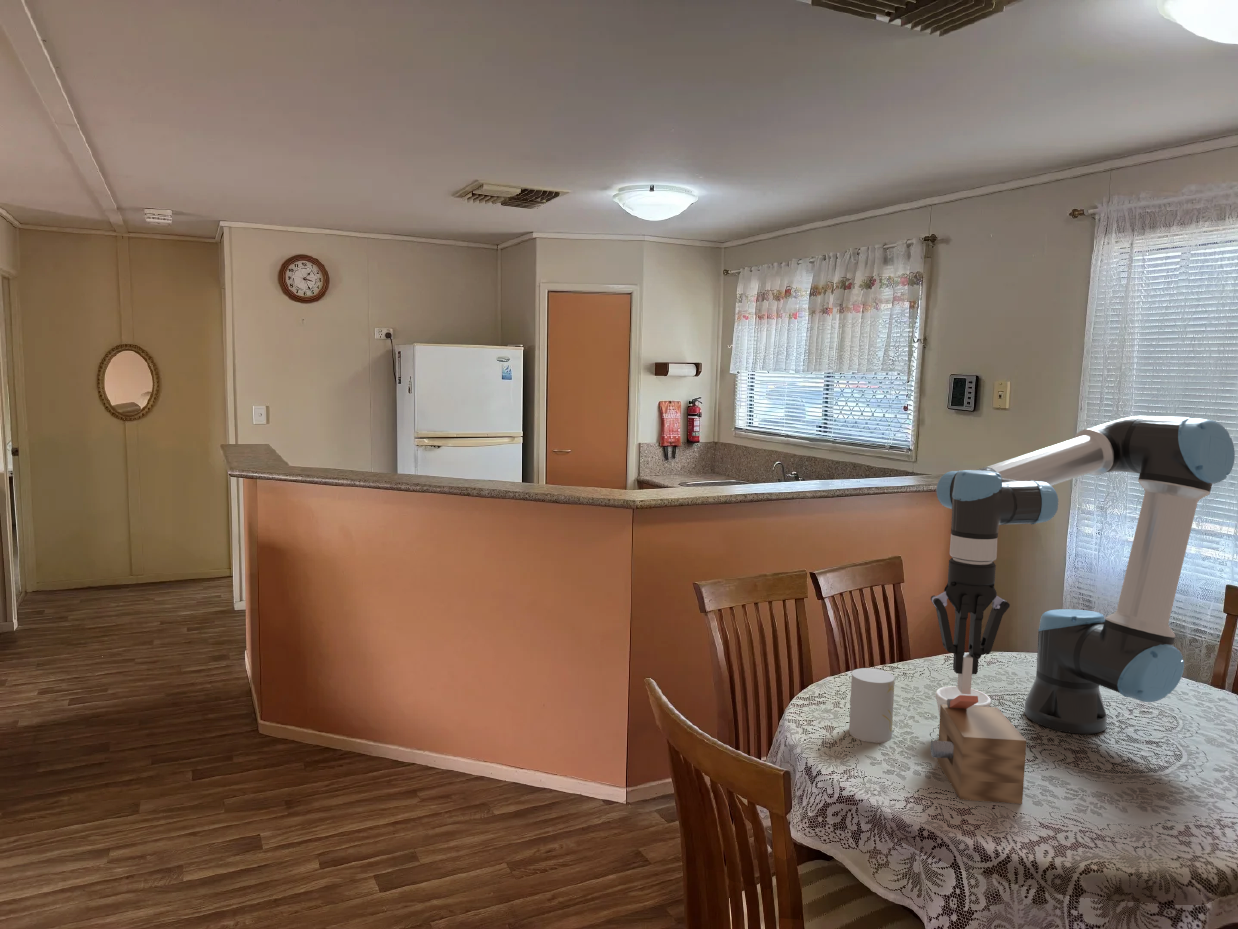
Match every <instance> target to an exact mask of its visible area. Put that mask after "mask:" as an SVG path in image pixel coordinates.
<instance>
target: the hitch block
mask: <svg viewBox="0 0 1238 929" xmlns="http://www.w3.org/2000/svg"><path fill="white" fill-rule="evenodd" d="M938 741H947V742H953V744H954V750H953V759H951V758H936V759H937V762H936V763H937V764H938V765H939V767H940V768H941V770H942V772H943V774H944V776H945V777H946V779H947V781H948V782H949V784H950V786H951V787H952V789H953V790H954V792H955V794H956V796H957V798H958V799H959V800H960V801H970V802H971V801H975V802H989V803H1006V804H1018V805H1019V804H1020V805H1022V804H1023V798H1024V797H1023V795H1024V781H1025V768H1026V756H1027V755H1026V754H1027V752H1026V751H1027V739H1026V738H1025V737H1024V736H1023V735H1022V734H1021V732H1020V731H1019V730H1018V729H1017V728H1016V727H1015V726H1014V725H1013V723H1012V722H1011V721H1010V720H1009V719H1008V718H1007V717H1006V715H1005V714H1004V713H1003V712H1002V711H1001V710H1000V708H999V707H994V706H990V707H979V706H971V707H969V708H967V709H960V708H948V706H947V705H942V704H941V707H940V716H939V728H938Z"/></svg>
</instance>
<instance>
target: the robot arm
mask: <svg viewBox="0 0 1238 929" xmlns="http://www.w3.org/2000/svg"><path fill="white" fill-rule="evenodd" d="M1235 452H1236V451H1235V445H1234V441H1233V438H1232V437H1231V436H1230V433H1229V432H1228V429H1226V427H1225V426H1224V425H1223V424H1221V423H1219V422H1217V421H1215V420H1212V419H1205V418H1198V417H1193V416H1188V417H1186V416H1159V415H1156V416H1155V415H1148V414H1147V415H1143V414H1141V415H1132V416H1126V417H1122V418H1118V419H1114V420H1111V421H1106V422H1103V423H1101V424H1097V425H1094V426H1091V427H1088V428H1085V429H1081V430H1080V431H1078V432H1077V433H1076V434H1075V435H1074V437H1072V438H1071V439H1067V440H1063V441H1061V442H1058V443H1055V444H1051V445H1049V446H1046V447H1043V448H1039V449H1037V450H1034V451H1031V452H1027V453H1024V454H1021V455H1019V456H1015V457H1012V458H1009V459H1006V460H1003V461H1000V462H997V463H994V464H991V465H988V466H985V467H984V466H983V467H982V468H978V469H965V470H950V471H947V472H946V473H944V474H943V475H941V476H940V478H939V480H938V482H937V484H936V488H935V489H936V497H937V500H938V501H939V503H940V504H941V505H942V506H943V507H945V508H947V509H950V510H951V522H950V523H951V527H950V539H949V540H950V541H949V542H950V543H949V544H950V545H949V555H950V556H951V558H950V559H949V560H948V569H947V570H948V572H947V583H946V585H945V587H944V590H943V592H941V593H940V594H938V595H931V596H930V601H931V603H932V604H933V606H934V608H935V610H936V615H937V621H938V627H939V632H940V638H941V643H942V646H943V648H944V649H945V651H946V652H948V653H950V654H953V665H952V669H953V672H954V673H956V674H957V688H958V690H959V691H960V692H961V693H962V694H971V689H972V681H973V680H972V678H973V675H977V674H978V672H979V660H980V659H981V658H982V655H989V654H991V652H992V649H993V647H994V643H995V640H996V637H997V635H998V634H997V633H998V632H999V629H1000V625H1001V622H1002V618H1003V616H1004V615H1005V613H1006V612H1007V611H1008V609H1009V608H1010V606H1011V604H1010V603H1009V602H1008V601H1007V600H1005V599H1004V598H1002V597H1000V596H998V594H997V590H996V588H995V582H996V581H995V580H996V569H997V568H996V567H997V565H996V563H995V562H994V561H996V560H997V557H998V556H997V555H998V537H999V530H1000V529H999V528H1000V526H1004V525H1005V526H1006V525H1027V524H1029V525H1036V524H1040V523H1046V522H1048V521H1051V520H1052V519H1053V518H1054V517H1055V516H1056V514H1057V512H1058V509H1059V497H1058V493H1057V491H1056V489H1055V488H1054V487H1053V486H1056V485H1058V484H1060V483H1064V482H1067V481H1069V480H1073V479H1077V478H1078V477H1081V476H1084V475H1088V474H1089V475H1093V476H1099V475H1103V474H1104V475H1105V474H1106V473H1111V472H1113V473H1114V472H1122V473H1133V474H1139V476H1138V480H1137V481H1138V483H1139V484H1140V486H1141V487H1142V488H1143V490H1144V494H1143V500H1142V503H1141V507H1140V511H1139V515H1138V520H1137V524H1136V529H1135V532H1134V536H1133V540H1132V545H1131V549H1130V553H1129V556H1128V562H1127V566H1126V569H1125V573H1124V574H1125V575H1124V578H1123V583H1122V586H1121V590H1120V595H1119V599H1118V604H1117V608H1116V611H1115V612H1113V613H1112V614H1108V615H1107V616H1106V617H1105V615H1104V614H1102V613H1101V612H1098V611H1093V610H1086V609H1075V608H1074V609H1071V608H1069V609H1068V608H1067V609H1066V608H1063V609H1062V608H1061V609H1059V608H1058V609H1050V610H1047V611H1045V612H1043V613H1042V615H1041V616H1040V621H1039V628H1038V629H1037V630H1038V636H1037V637H1038V638H1037V653H1036V654H1037V657H1036V673H1035V680H1034V682H1033V684H1032V686H1031V687H1030V690H1029V692H1028V695H1027V697H1026V699H1025V702H1024V710H1023V711H1024V715H1025V716H1026V717H1027V718H1028V719H1030V720H1031V721H1033V722H1034V723H1036V724H1038V725H1040V726H1043V727H1046V728H1048V729H1051V730H1056V731H1059V732H1060V731H1061V732H1065V733H1071V734H1080V735H1081V734H1082V735H1084V734H1085V735H1087V734H1098V733H1101V732H1103V731H1105V730H1106V728H1107V722H1108V721H1107V720H1108V717H1107V712H1106V708H1105V705H1104V701H1103V698H1102V694H1101V691H1100V686H1101V687H1103V688H1106V689H1109V690H1111V691H1114V692H1116V693H1118V694H1120V695H1122V696H1123V697H1126V698H1131V699H1134V700H1137V701H1140V702H1144V703H1154V702H1155V703H1156V702H1158V701H1160V700H1163V699H1165V698H1166V697H1167V696H1168V695H1170V694H1171V693H1172V692H1173V691H1174V690H1175V689H1176V688H1177V687H1178V685H1179V683H1180V681H1181V680H1182V677H1183V674H1184V670H1185V661H1184V659H1183V658H1184V656H1183V654H1182V652H1181V651H1180V650H1179V649H1178V648H1177V647H1175V646H1174V645H1175V644H1174V643H1175V639H1176V634H1175V633H1174V632H1173V630H1172V628H1171V627H1170V624H1169V622H1170V619H1171V614H1172V610H1173V606H1174V603H1175V602H1174V601H1175V599H1176V598H1175V597H1176V595H1177V594H1176V593H1177V589H1178V585H1179V582H1180V577H1181V572H1182V568H1183V564H1184V560H1185V556H1186V552H1187V547H1188V543H1189V540H1190V535H1191V530H1192V528H1193V522H1194V518H1195V515H1196V510H1197V506H1198V503H1199V501H1200V500H1202V499H1203V498H1206V497H1207V496H1209V495H1210V494H1211V491H1212V485H1213V484H1218V483H1220V482H1223V481H1224V480H1225V479H1227V477H1228V476H1229V475H1230V474H1231V472H1232V470H1233V467H1234V464H1235V456H1236V453H1235ZM948 601H949V602H950V603H951V605H952V606H953V607H954V614H955V616H954V618H955V619H954V630H953V631H954V632H953V636H952V631H951V626H950V622H949V615H948V612H947V609H946V607H947V606H948ZM990 605H991V610H990V612H989V615H988V618H987V621H986V624H985V627H984V631H983V634H982V629H983V628H982V627H983V624H982V623H983V619H984V612H985V611H986V609H988V607H989V606H990ZM969 616H970V619H969V633H968V634H969V636H968V648H967V649H968V652H965V650H966V632H967V623H968V622H967V620H968V617H969Z"/></svg>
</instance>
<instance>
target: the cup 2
mask: <svg viewBox="0 0 1238 929" xmlns="http://www.w3.org/2000/svg"><path fill="white" fill-rule="evenodd" d="M959 695H966V696H978V702H977V703H976V704H974V705H972V706H979V707H991V704H992V699H991V698H990V697H989V695H988V694H986V693H985V692H983V691H980V690H977V689H975V688H971V694H962V693H961V692H960V691H959V690H958V688H957V686H956V685H954V686H953V685H949V686H942V687H940V688H937V689H936V691H935V699H936V700H935V701H936V704H937V710H938V715H939V717H940V707H941V704H942V705H947V699H954V698H956V697H958V696H959Z"/></svg>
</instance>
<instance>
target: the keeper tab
mask: <svg viewBox="0 0 1238 929" xmlns="http://www.w3.org/2000/svg"><path fill="white" fill-rule="evenodd" d="M977 702H978V696H966V695H959V696H958V697H956V698H954V699H947V706H948V708H960V709H967V708H969V707H971V706H972V705H974V704H976V703H977Z"/></svg>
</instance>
